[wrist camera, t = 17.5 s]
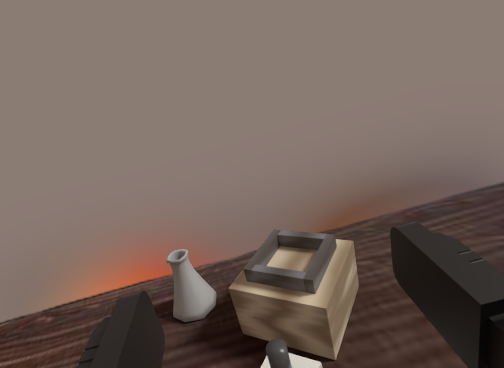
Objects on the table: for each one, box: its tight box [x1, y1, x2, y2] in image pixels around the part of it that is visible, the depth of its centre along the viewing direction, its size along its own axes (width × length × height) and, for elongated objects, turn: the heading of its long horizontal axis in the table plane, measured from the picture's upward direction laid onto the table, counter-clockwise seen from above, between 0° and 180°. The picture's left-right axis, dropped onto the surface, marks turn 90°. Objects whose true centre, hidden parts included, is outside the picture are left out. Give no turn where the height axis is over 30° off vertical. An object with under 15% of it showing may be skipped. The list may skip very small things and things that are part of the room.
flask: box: [167, 249, 217, 322], centre depth 50 cm, size 7×7×10 cm
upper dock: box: [228, 230, 359, 360], centre depth 44 cm, size 13×13×10 cm
